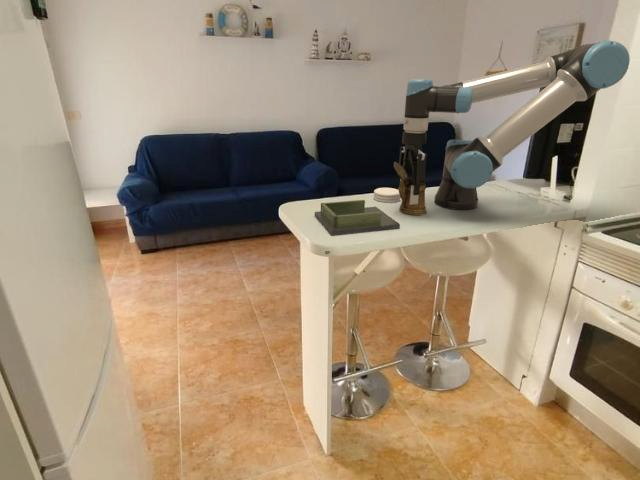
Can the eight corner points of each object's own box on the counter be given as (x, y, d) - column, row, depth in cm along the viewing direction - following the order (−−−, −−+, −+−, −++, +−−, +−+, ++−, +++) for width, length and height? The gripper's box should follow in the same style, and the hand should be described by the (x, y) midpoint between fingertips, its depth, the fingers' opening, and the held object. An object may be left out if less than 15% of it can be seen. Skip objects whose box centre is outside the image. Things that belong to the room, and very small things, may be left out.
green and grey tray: (375, 210, 137) (376, 196, 135) (399, 228, 121) (401, 213, 119) (314, 216, 131) (314, 201, 129) (331, 235, 115) (331, 219, 113)
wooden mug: (383, 210, 137) (387, 158, 130) (415, 206, 142) (420, 155, 135) (397, 218, 129) (402, 164, 122) (431, 213, 134) (437, 160, 127)
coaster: (390, 194, 156) (391, 186, 155) (405, 201, 148) (406, 192, 146) (368, 197, 152) (369, 188, 151) (382, 204, 144) (383, 195, 143)
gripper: (390, 127, 133) (385, 193, 142) (420, 136, 115) (412, 210, 124) (410, 127, 135) (404, 192, 144) (442, 135, 117) (433, 208, 126)
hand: (408, 200), depth 134 cm, fingers closed on wooden mug, 7 cm apart
